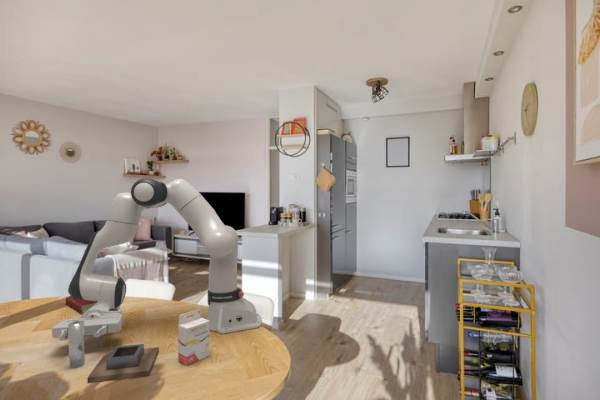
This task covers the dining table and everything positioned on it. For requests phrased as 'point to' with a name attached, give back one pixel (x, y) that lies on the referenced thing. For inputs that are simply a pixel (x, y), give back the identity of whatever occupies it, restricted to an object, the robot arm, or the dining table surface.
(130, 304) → the dining table surface
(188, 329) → the ink cartridge box
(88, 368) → the dining table surface
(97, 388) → the dining table surface
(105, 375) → the socket board
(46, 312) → the dining table surface
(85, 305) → the hardcover book
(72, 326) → the steel pin
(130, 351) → the socket collar
